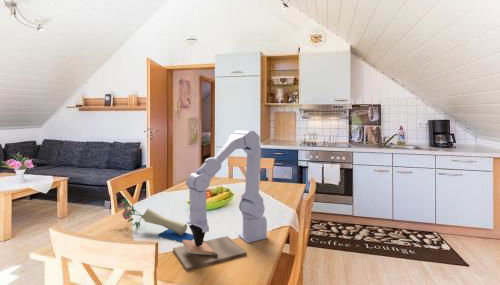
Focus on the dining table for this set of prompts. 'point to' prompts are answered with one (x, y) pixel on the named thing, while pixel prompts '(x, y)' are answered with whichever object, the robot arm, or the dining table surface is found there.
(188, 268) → the board
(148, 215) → the flower vase
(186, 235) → the blue flat pad
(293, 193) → the dining table surface
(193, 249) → the tile
